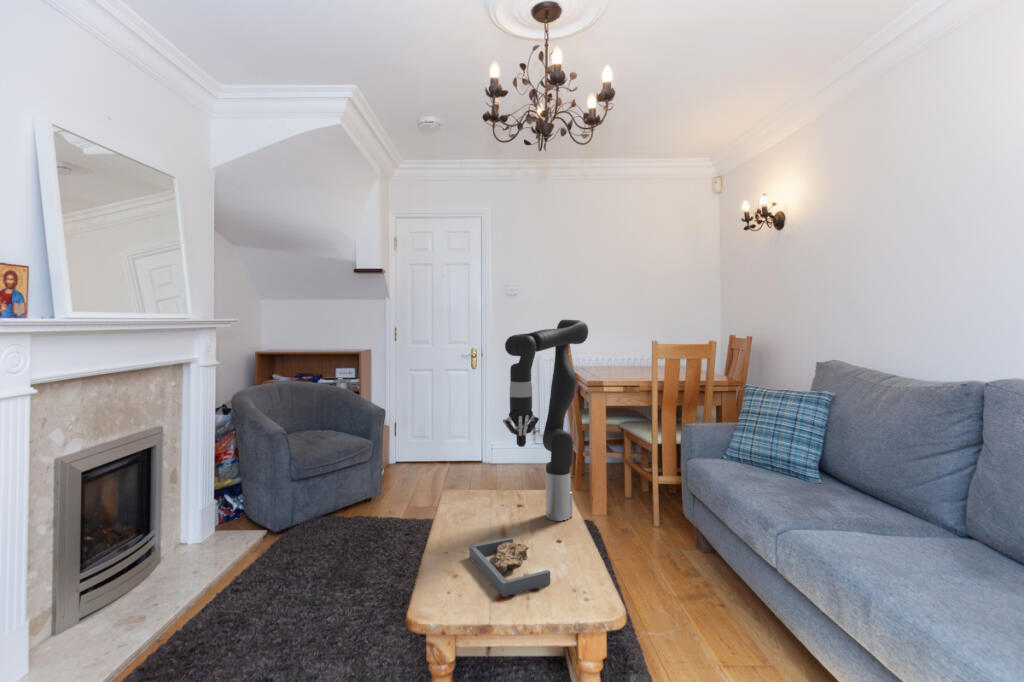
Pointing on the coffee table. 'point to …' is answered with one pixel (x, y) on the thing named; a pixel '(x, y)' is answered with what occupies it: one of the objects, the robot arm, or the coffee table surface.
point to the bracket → (496, 578)
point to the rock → (510, 556)
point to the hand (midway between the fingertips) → (521, 446)
